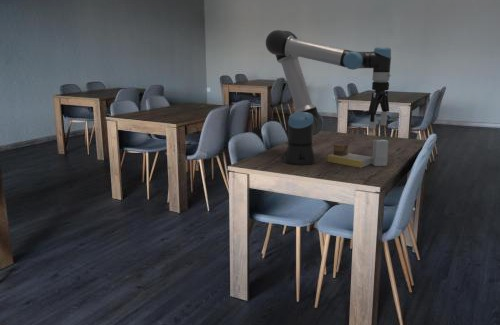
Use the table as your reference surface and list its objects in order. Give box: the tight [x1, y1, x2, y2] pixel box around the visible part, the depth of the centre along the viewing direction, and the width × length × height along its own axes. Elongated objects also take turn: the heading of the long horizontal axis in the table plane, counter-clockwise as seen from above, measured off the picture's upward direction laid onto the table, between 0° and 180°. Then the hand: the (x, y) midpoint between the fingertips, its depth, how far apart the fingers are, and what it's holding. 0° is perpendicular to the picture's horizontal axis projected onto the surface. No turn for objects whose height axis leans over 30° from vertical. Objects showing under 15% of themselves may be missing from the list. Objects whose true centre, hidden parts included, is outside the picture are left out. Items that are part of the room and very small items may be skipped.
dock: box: [327, 152, 373, 168], centre depth 223 cm, size 12×18×3 cm, turn 49°
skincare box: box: [371, 139, 389, 167], centre depth 217 cm, size 6×4×12 cm
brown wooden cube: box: [332, 143, 349, 156], centre depth 226 cm, size 5×5×5 cm
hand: (377, 126), depth 218 cm, fingers open, 13 cm apart
